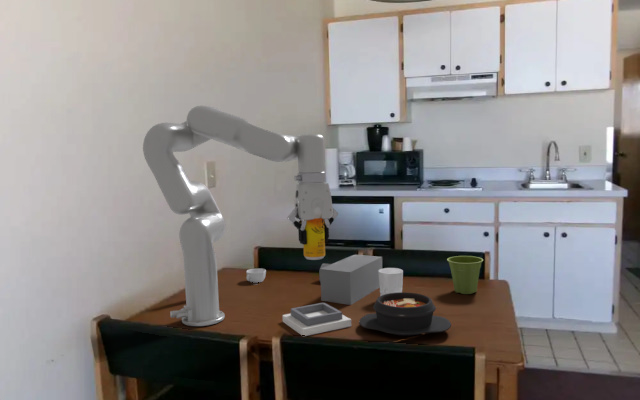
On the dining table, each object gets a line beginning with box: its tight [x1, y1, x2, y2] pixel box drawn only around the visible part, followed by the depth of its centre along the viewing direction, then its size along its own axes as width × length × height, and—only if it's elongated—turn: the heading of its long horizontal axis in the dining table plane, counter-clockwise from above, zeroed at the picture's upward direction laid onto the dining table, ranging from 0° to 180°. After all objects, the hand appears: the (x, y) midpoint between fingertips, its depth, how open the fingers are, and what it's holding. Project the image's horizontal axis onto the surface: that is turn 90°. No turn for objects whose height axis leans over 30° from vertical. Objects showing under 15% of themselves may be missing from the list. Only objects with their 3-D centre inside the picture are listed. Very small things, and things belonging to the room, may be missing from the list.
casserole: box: [358, 291, 452, 337], centre depth 142 cm, size 25×19×8 cm
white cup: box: [378, 267, 404, 297], centre depth 168 cm, size 8×8×10 cm
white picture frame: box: [282, 302, 352, 337], centre depth 148 cm, size 15×14×4 cm
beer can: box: [302, 208, 326, 261], centre depth 146 cm, size 6×6×15 cm
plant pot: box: [446, 255, 484, 295], centre depth 176 cm, size 12×12×11 cm
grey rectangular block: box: [318, 254, 383, 306], centre depth 182 cm, size 25×23×11 cm
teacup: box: [246, 268, 267, 284], centre depth 198 cm, size 10×10×5 cm
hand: (314, 241), depth 146 cm, fingers closed on beer can, 6 cm apart
